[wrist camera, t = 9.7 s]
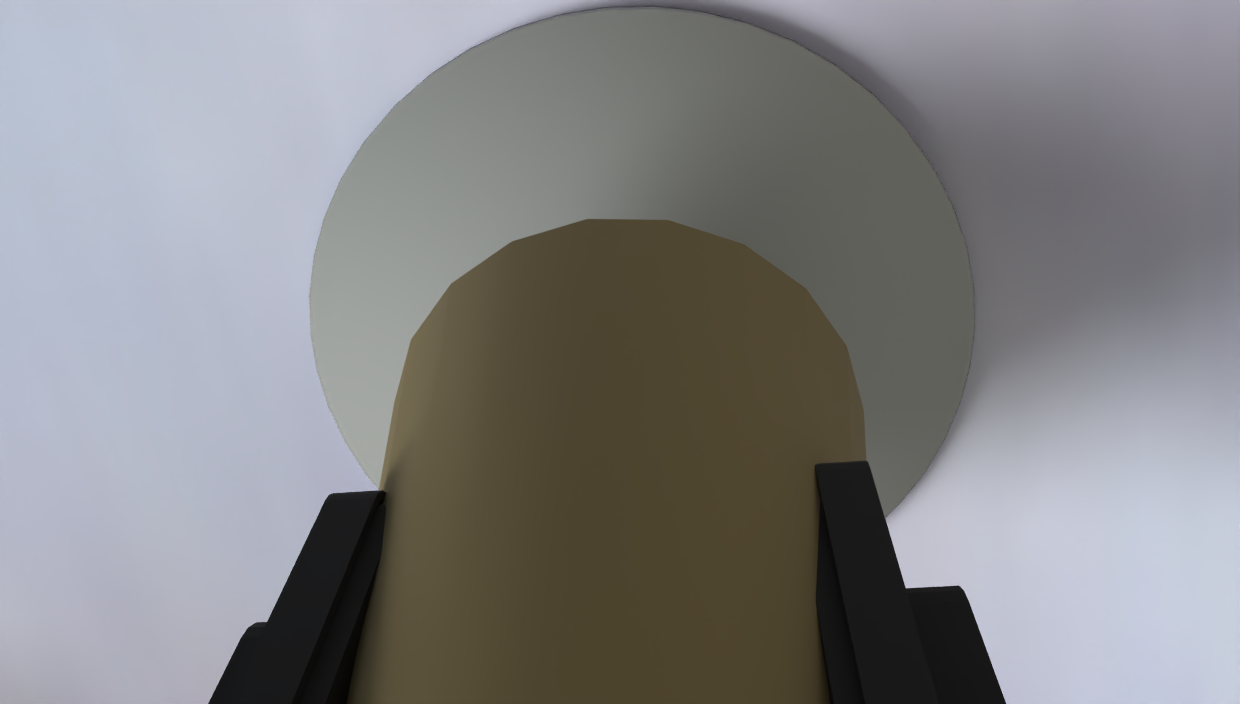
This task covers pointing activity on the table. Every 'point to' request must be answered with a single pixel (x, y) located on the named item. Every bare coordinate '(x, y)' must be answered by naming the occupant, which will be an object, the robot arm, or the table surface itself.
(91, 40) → the table surface
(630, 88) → the pad
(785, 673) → the cork
